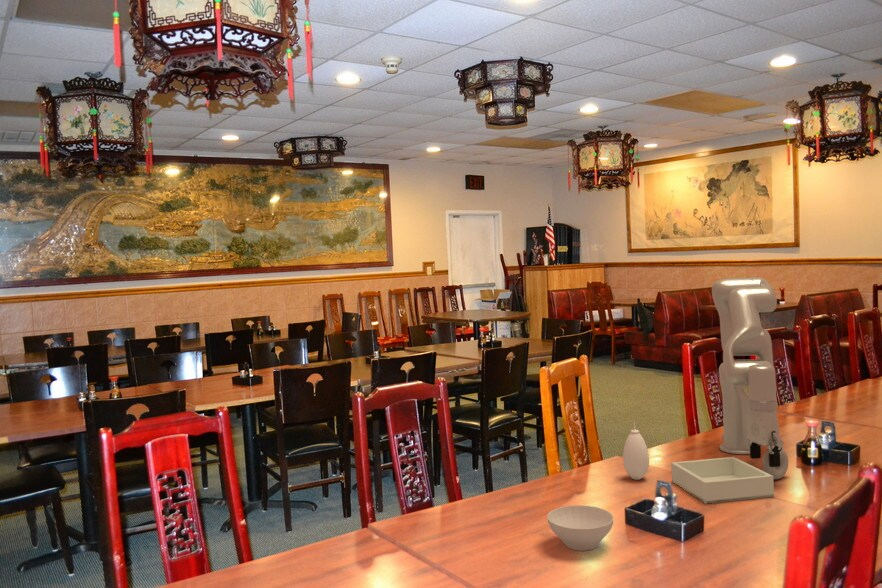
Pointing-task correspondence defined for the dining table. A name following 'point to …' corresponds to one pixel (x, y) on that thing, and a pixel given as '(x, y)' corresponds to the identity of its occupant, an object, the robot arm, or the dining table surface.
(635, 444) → the sauce bottle
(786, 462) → the donut
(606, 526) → the bowl
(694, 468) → the bin
